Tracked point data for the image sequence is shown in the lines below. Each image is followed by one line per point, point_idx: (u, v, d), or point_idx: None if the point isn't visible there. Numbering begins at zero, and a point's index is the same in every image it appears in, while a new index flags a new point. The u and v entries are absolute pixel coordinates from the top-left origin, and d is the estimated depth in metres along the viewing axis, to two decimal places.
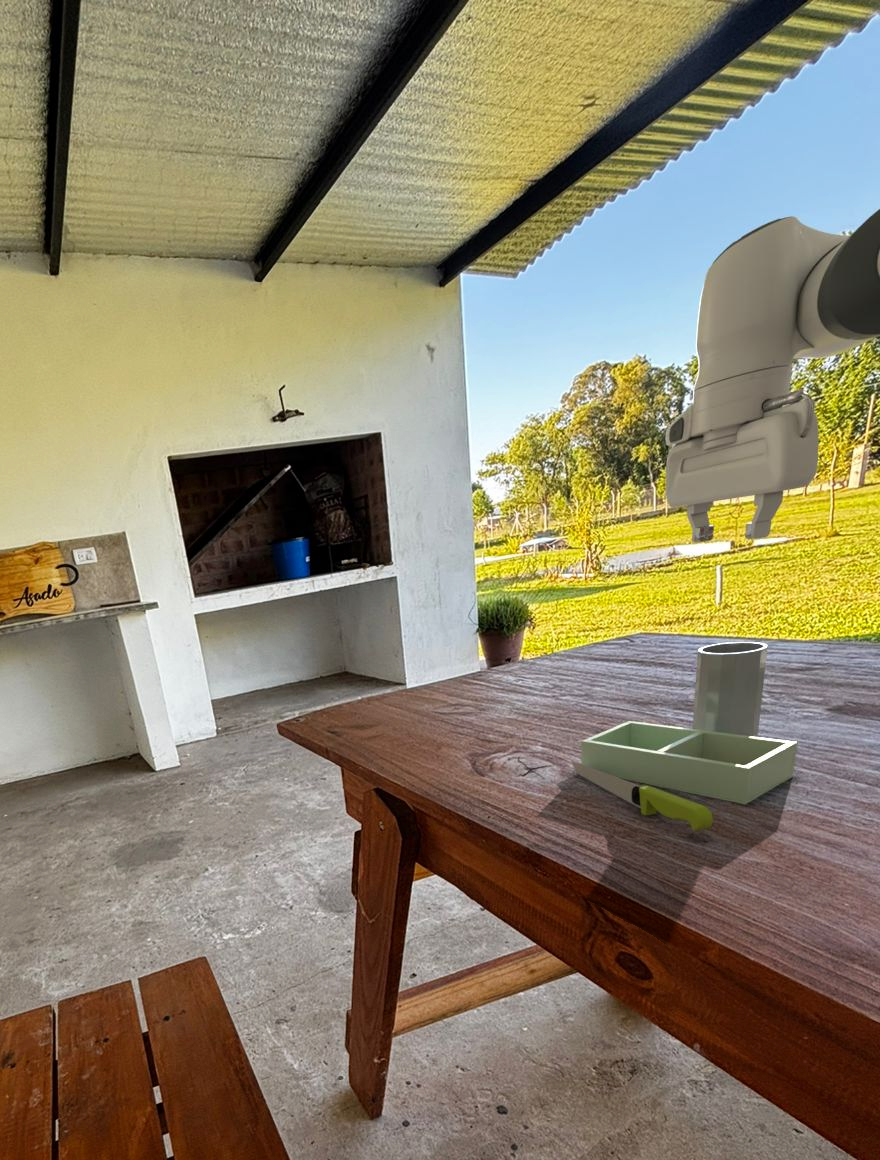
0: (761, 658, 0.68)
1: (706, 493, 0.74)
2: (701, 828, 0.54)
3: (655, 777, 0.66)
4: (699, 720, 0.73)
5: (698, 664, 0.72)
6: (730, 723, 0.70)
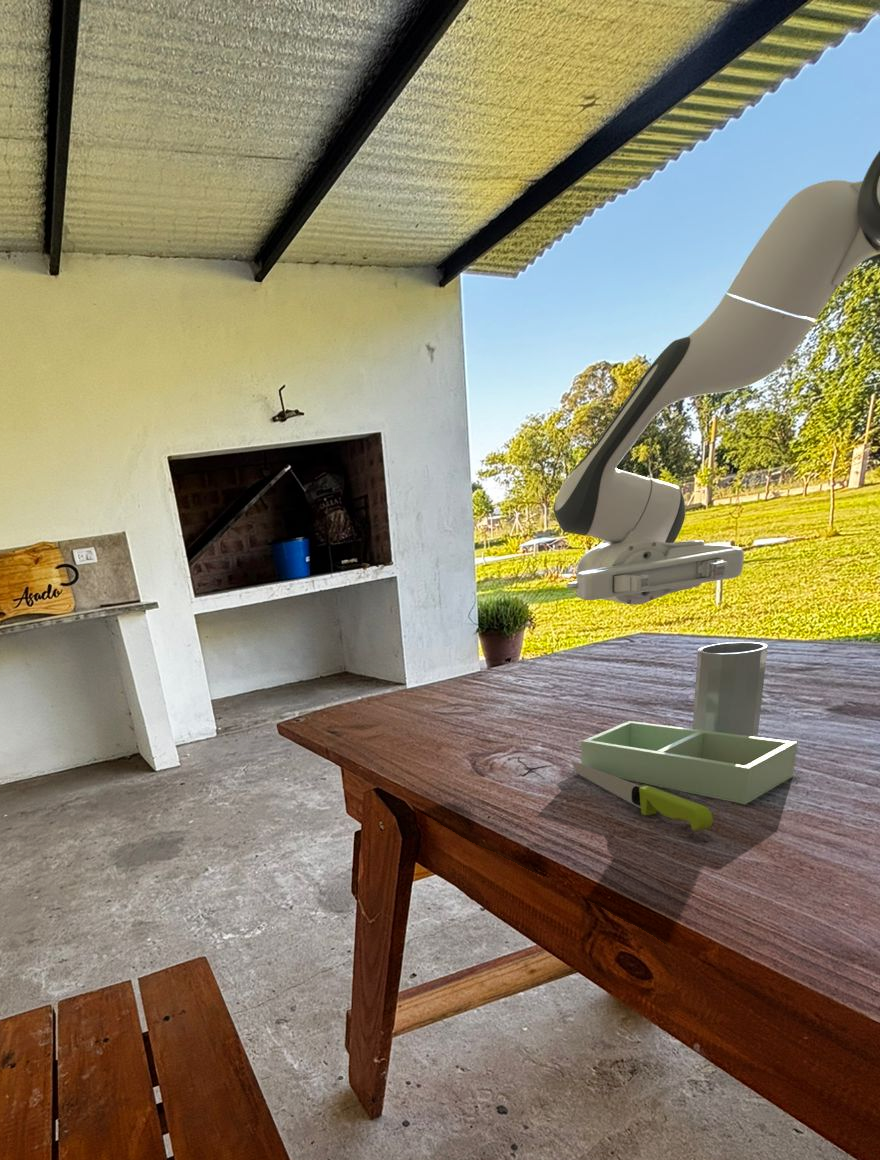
0: (761, 658, 0.68)
1: None
2: (701, 828, 0.54)
3: (655, 777, 0.66)
4: (699, 720, 0.73)
5: (698, 664, 0.72)
6: (730, 723, 0.70)
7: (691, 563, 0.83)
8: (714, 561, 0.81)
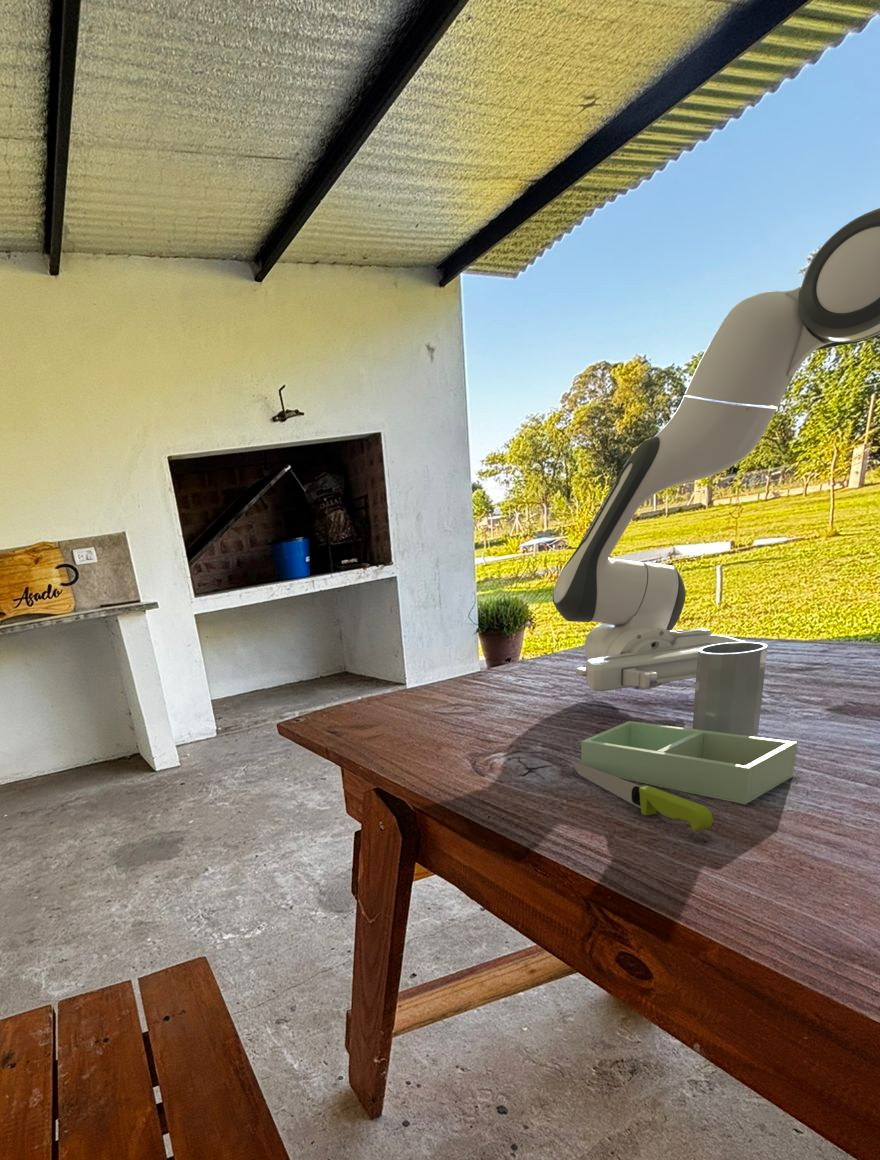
0: (761, 658, 0.68)
1: None
2: (701, 828, 0.54)
3: (655, 777, 0.66)
4: (699, 720, 0.73)
5: (698, 664, 0.72)
6: (730, 723, 0.70)
7: None
8: None
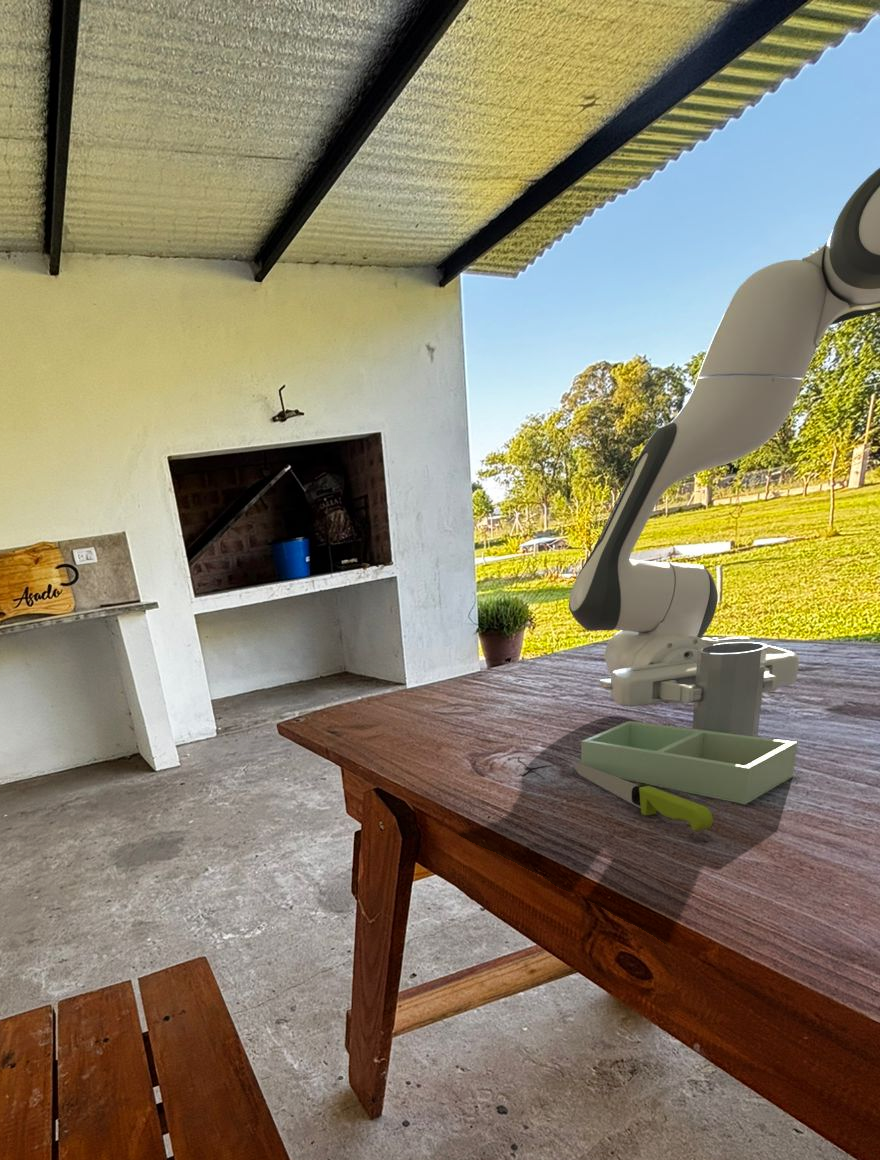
0: (761, 658, 0.68)
1: None
2: (701, 828, 0.54)
3: (655, 777, 0.66)
4: (699, 720, 0.73)
5: (698, 663, 0.72)
6: (730, 723, 0.70)
7: None
8: None
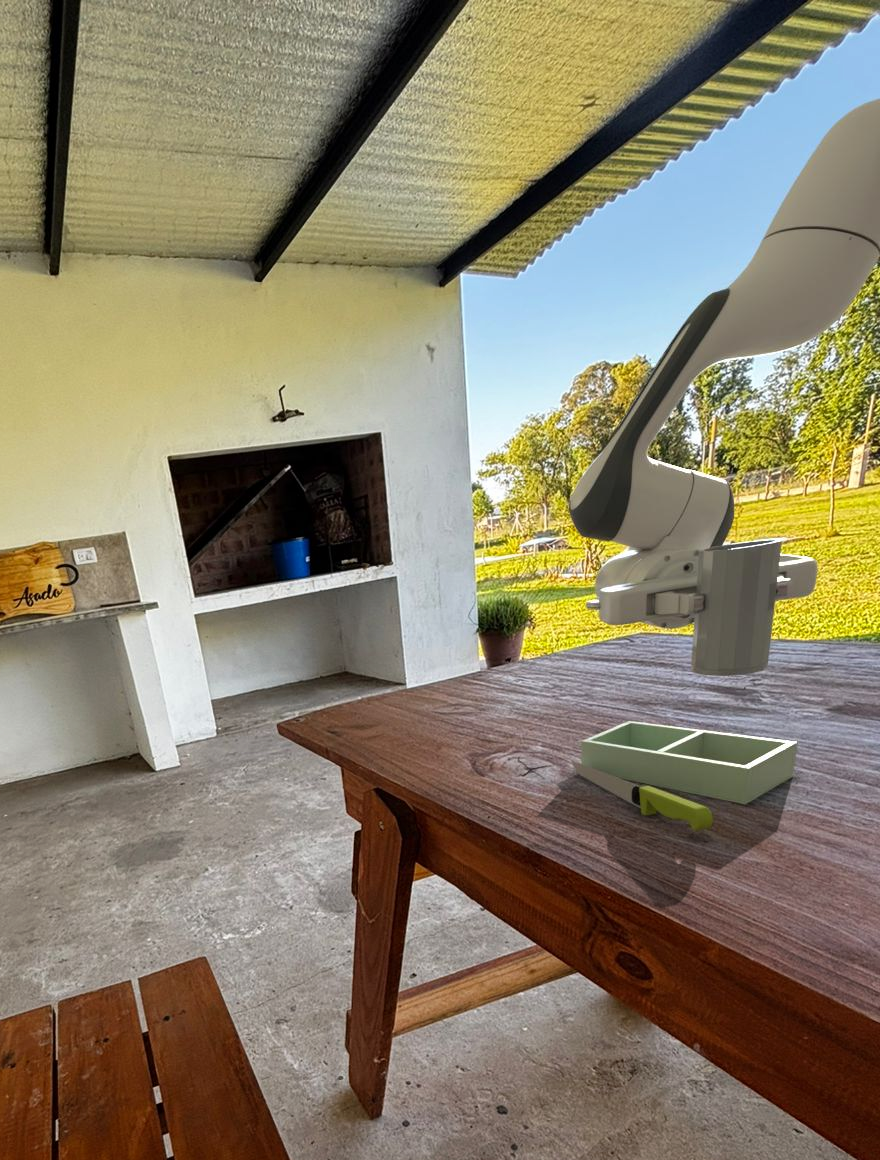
0: (775, 553, 0.57)
1: None
2: (701, 828, 0.54)
3: (655, 777, 0.66)
4: (700, 635, 0.62)
5: (699, 566, 0.61)
6: (736, 635, 0.59)
7: None
8: None
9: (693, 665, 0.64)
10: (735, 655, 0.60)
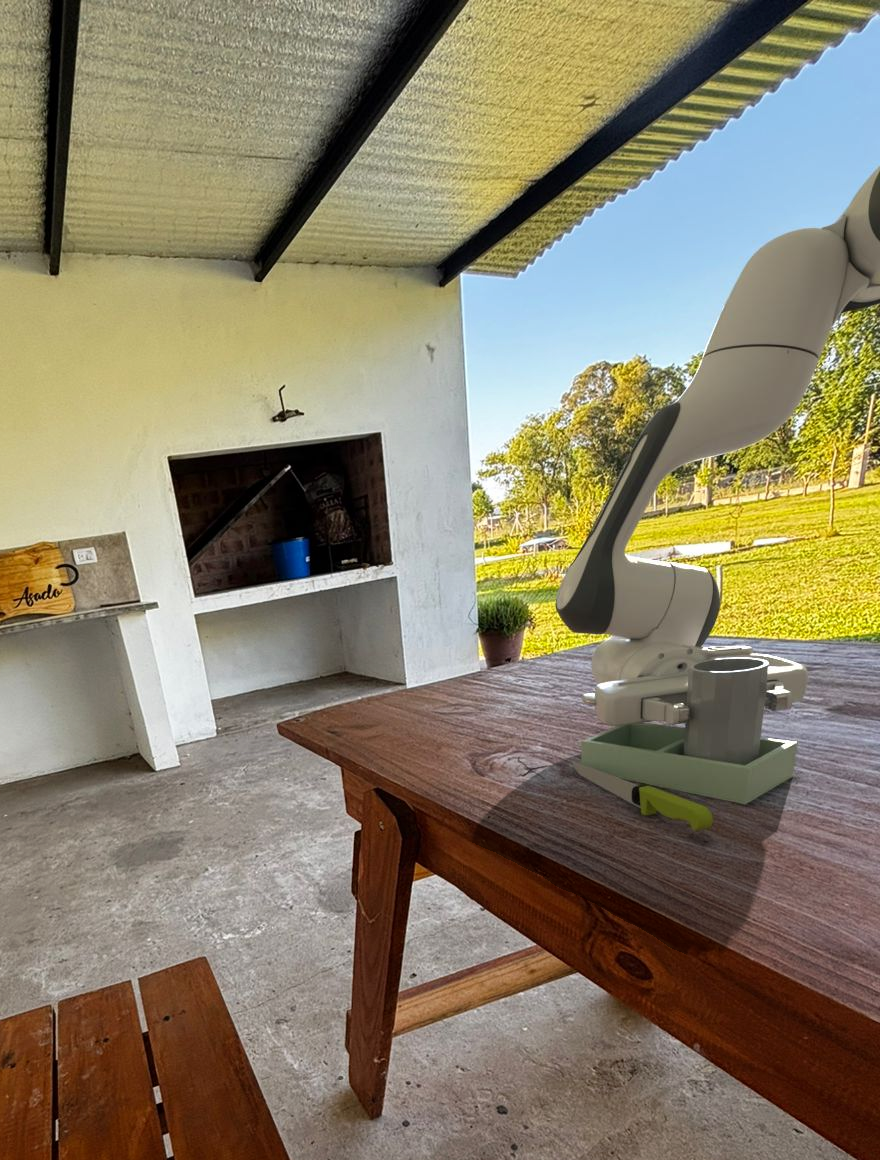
0: (761, 677, 0.58)
1: None
2: (701, 828, 0.54)
3: (655, 777, 0.66)
4: (691, 746, 0.64)
5: (689, 682, 0.62)
6: (725, 751, 0.61)
7: None
8: (771, 685, 0.64)
9: None
10: None
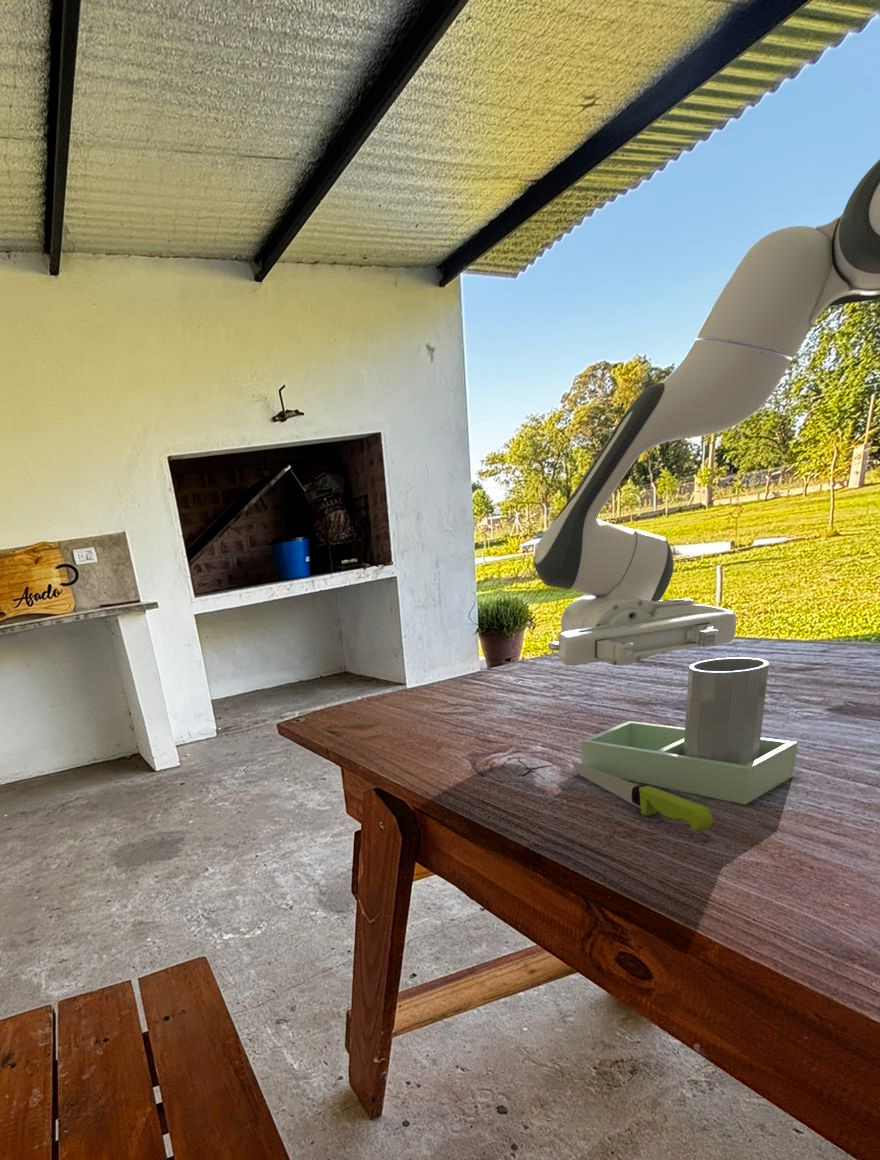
0: (761, 677, 0.58)
1: None
2: (701, 828, 0.54)
3: (655, 777, 0.66)
4: (691, 746, 0.64)
5: (689, 682, 0.62)
6: (725, 751, 0.61)
7: (679, 627, 0.77)
8: (704, 627, 0.75)
9: None
10: None
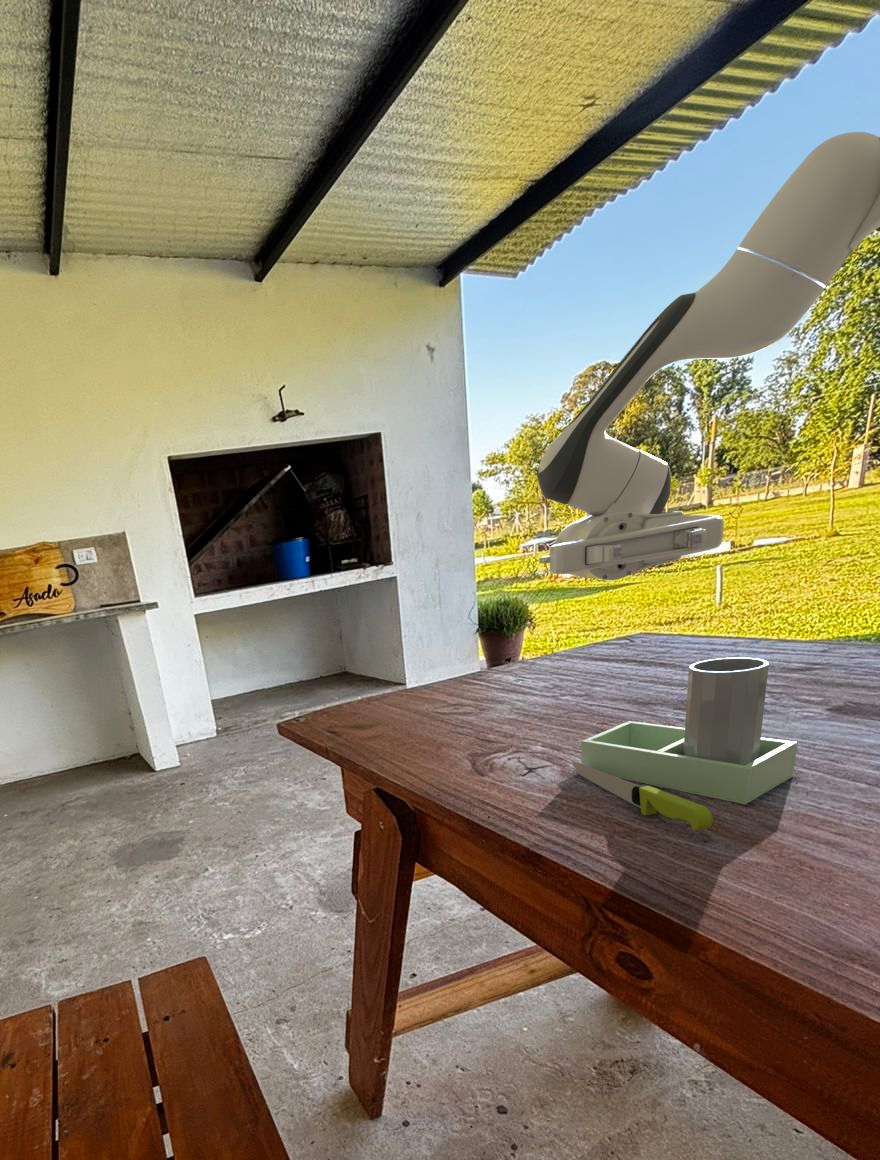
0: (761, 677, 0.58)
1: (651, 558, 0.79)
2: (701, 828, 0.54)
3: (655, 777, 0.66)
4: (691, 746, 0.64)
5: (689, 682, 0.62)
6: (725, 751, 0.61)
7: (668, 533, 0.78)
8: (692, 530, 0.76)
9: None
10: None
